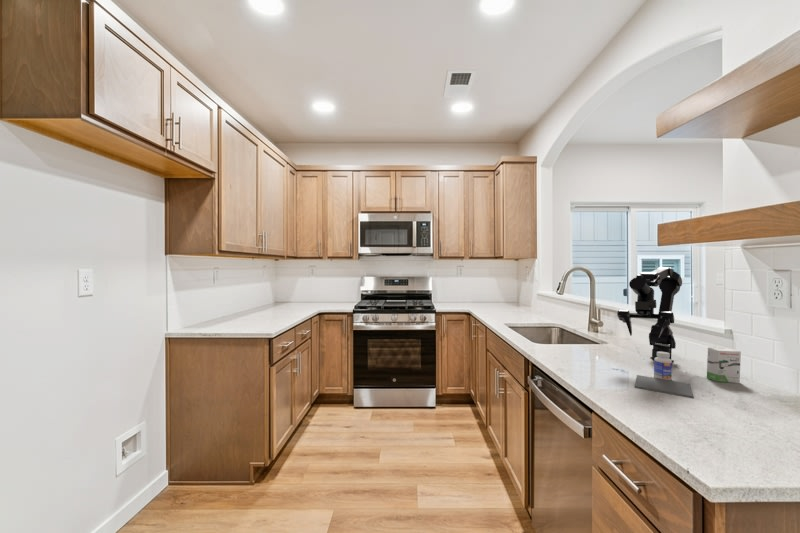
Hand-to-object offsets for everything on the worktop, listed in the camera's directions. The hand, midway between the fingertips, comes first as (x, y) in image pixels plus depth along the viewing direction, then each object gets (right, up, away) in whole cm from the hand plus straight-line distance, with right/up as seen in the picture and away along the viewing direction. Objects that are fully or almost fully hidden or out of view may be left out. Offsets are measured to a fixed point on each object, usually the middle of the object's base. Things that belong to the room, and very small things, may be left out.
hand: (644, 336), depth 145 cm
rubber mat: (-4, -14, -16) cm, 22 cm away
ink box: (+24, -15, -8) cm, 30 cm away
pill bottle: (+2, -15, -7) cm, 17 cm away
